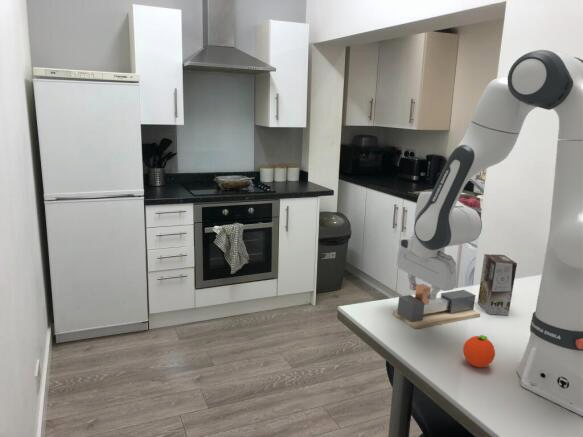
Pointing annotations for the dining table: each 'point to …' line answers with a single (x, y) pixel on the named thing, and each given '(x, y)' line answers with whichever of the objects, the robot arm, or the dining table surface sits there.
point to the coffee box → (496, 284)
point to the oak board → (439, 318)
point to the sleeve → (460, 301)
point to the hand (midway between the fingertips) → (422, 294)
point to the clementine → (479, 351)
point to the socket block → (410, 308)
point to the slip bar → (431, 305)
